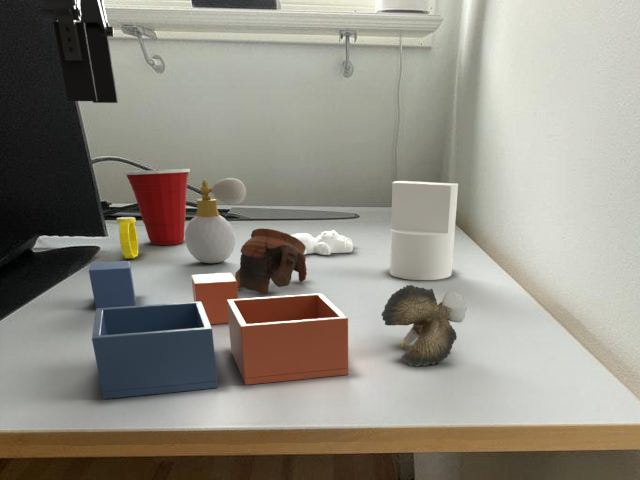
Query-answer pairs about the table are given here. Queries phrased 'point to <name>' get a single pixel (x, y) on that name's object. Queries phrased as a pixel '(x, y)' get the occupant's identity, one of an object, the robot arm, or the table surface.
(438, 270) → the cylinder with rectangular tab
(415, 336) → the eagle figurine
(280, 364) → the terracotta bin
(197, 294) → the terracotta block
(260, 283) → the brown wooden carving
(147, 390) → the slate bin
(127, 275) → the slate block
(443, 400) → the table surface
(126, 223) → the watch
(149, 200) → the plastic cup
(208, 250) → the perfume bottle
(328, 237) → the astronaut figurine
